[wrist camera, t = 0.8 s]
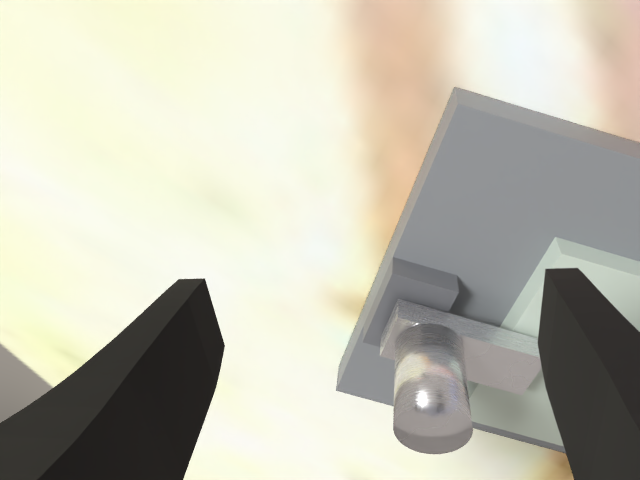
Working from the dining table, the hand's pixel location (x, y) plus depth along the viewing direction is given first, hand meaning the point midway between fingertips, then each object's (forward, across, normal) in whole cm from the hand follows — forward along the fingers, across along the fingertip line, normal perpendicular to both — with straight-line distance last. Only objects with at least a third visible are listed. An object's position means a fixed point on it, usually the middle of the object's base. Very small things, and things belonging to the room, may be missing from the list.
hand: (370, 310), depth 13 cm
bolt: (+7, -2, +7) cm, 10 cm away
